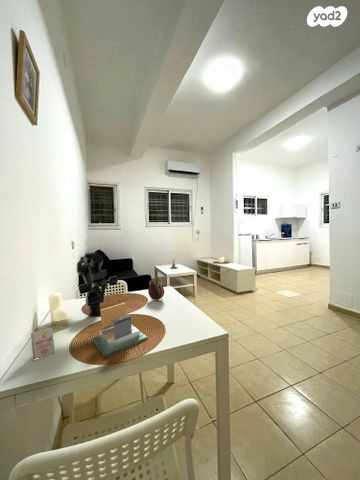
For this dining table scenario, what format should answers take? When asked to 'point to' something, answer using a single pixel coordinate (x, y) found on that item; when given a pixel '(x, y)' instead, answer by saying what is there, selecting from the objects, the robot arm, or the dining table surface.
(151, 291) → the brown rounded piece
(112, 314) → the tan square pad
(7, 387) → the dining table surface
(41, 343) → the pink printed box
